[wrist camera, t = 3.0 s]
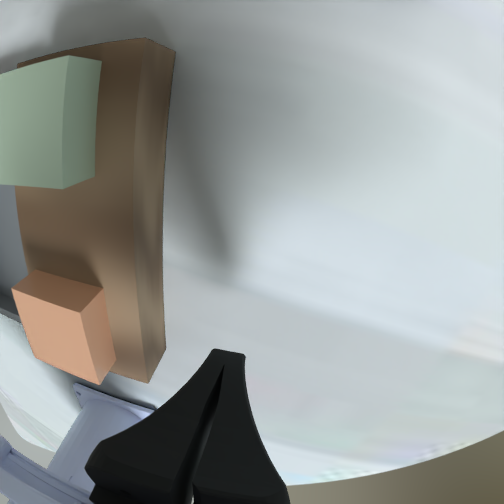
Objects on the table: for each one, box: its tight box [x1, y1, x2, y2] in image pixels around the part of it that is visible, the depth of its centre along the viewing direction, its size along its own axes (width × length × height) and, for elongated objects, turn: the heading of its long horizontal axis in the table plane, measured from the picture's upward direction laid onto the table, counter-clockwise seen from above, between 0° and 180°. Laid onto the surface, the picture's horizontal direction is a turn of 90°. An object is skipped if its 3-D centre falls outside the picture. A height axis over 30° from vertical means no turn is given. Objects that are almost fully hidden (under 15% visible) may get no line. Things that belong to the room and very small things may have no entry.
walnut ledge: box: [15, 38, 176, 384], centre depth 13 cm, size 16×7×3 cm, turn 173°
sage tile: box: [0, 55, 102, 189], centre depth 9 cm, size 4×4×2 cm
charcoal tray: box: [0, 70, 28, 323], centre depth 14 cm, size 16×8×2 cm, turn 173°
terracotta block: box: [11, 269, 116, 385], centre depth 13 cm, size 4×4×2 cm
